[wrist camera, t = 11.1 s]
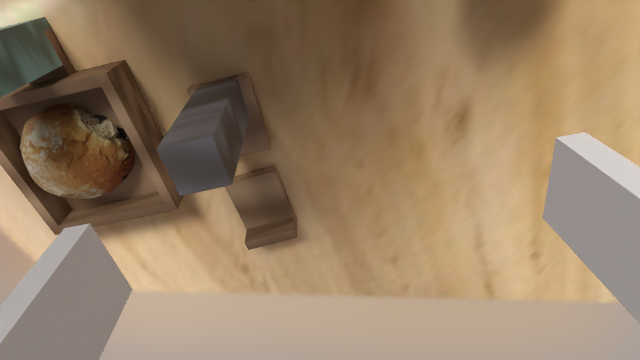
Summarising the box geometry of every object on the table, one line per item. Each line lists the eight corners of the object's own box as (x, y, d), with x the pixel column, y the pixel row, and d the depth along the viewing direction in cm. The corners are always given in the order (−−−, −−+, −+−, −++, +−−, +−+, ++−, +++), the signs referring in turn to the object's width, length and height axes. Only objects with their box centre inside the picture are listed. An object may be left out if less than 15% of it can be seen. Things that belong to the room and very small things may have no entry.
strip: (225, 179, 44) (220, 197, 41) (275, 165, 43) (273, 182, 40) (251, 230, 48) (248, 249, 45) (296, 218, 47) (296, 237, 44)
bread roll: (53, 91, 40) (-26, 124, 35) (121, 94, 37) (45, 131, 31) (95, 169, 46) (33, 209, 40) (158, 179, 42) (100, 224, 36)
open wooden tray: (-48, 40, 34) (-230, 91, 22) (97, 3, 33) (-12, 37, 21) (74, 211, 45) (-5, 308, 33) (186, 187, 44) (146, 278, 32)
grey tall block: (190, 86, 38) (142, 152, 26) (248, 72, 37) (226, 133, 25) (218, 154, 42) (188, 238, 30) (270, 143, 41) (261, 223, 30)
